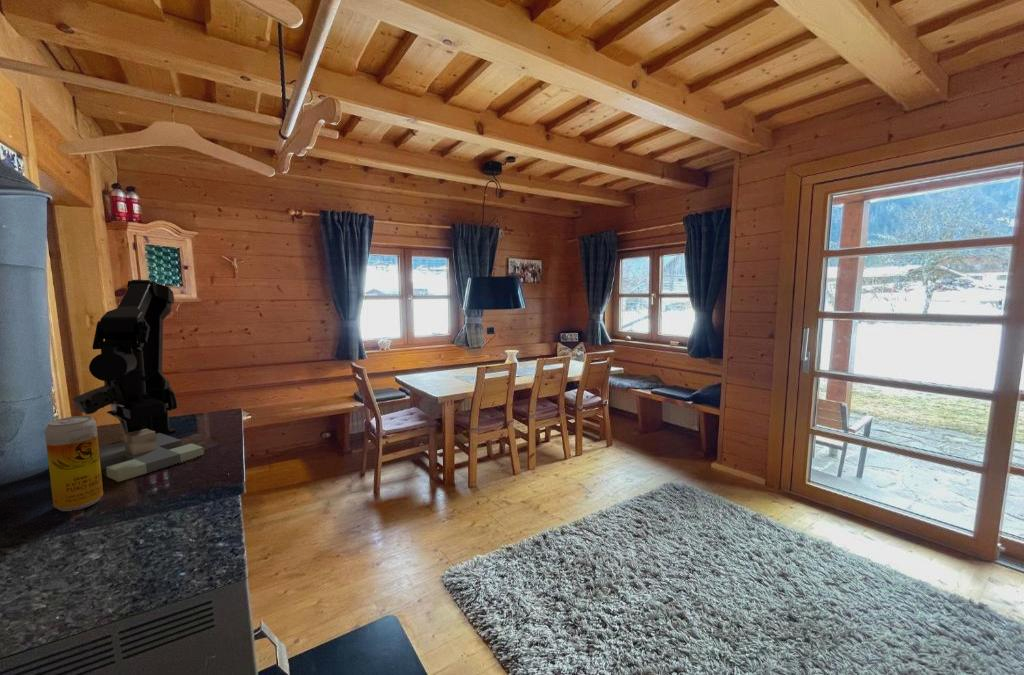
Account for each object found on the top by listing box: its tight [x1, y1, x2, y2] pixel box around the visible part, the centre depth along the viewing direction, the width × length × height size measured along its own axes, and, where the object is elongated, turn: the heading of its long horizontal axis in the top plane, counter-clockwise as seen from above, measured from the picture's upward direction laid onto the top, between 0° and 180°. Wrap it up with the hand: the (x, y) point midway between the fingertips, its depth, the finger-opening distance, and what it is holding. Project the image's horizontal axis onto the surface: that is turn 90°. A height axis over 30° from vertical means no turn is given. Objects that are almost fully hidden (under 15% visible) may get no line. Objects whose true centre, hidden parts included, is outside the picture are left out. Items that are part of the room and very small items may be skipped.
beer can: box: [44, 415, 104, 512], centre depth 73 cm, size 6×6×15 cm
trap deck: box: [99, 433, 205, 483], centre depth 93 cm, size 20×15×2 cm
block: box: [123, 429, 157, 455], centre depth 93 cm, size 4×4×4 cm
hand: (132, 441), depth 94 cm, fingers closed
